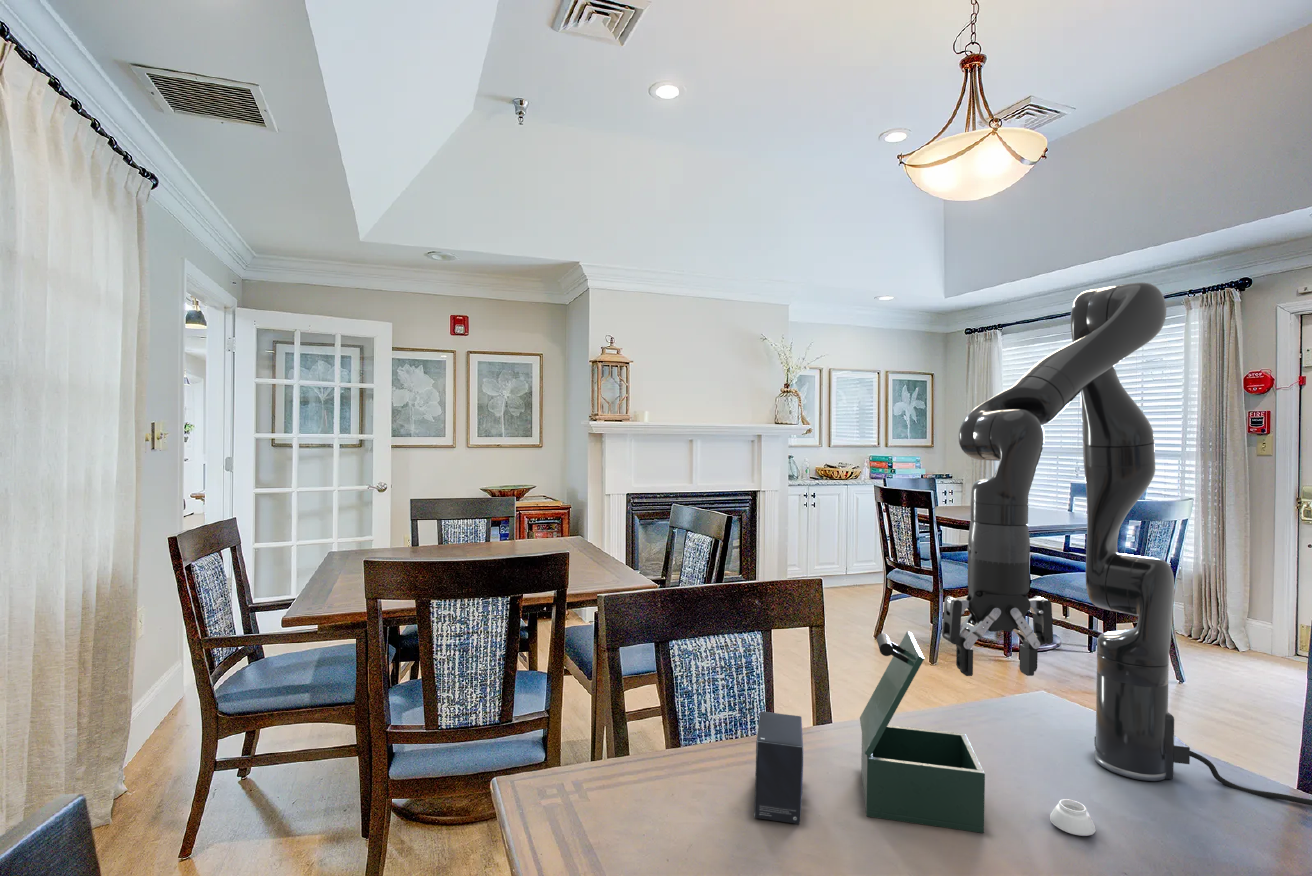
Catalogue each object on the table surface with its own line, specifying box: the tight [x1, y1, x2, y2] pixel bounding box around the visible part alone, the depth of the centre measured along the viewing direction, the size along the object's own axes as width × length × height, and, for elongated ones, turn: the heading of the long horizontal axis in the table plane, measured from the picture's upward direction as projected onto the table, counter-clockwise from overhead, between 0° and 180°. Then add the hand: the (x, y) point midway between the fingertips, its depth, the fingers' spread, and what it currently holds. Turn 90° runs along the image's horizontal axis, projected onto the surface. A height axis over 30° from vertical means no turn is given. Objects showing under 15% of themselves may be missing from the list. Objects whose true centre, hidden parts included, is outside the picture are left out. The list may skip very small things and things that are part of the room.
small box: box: [753, 710, 804, 825], centre depth 94 cm, size 11×6×10 cm, turn 168°
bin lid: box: [859, 630, 925, 757], centre depth 96 cm, size 15×12×5 cm
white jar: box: [1049, 798, 1096, 837], centre depth 88 cm, size 5×3×5 cm
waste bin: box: [860, 724, 986, 834], centre depth 94 cm, size 15×12×8 cm
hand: (996, 674), depth 91 cm, fingers open, 8 cm apart
